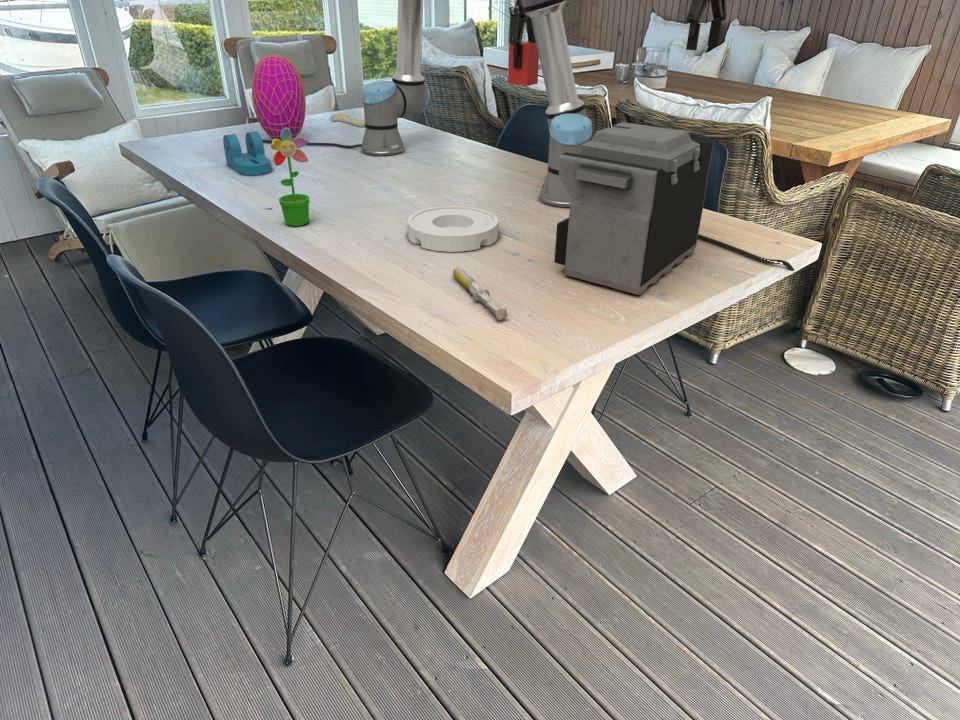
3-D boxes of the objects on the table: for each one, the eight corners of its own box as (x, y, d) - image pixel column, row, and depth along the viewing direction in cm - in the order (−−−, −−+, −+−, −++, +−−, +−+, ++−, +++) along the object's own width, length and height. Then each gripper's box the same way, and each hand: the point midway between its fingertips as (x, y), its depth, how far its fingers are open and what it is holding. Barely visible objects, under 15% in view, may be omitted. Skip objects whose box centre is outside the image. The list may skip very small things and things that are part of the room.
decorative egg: (293, 132, 276) (283, 50, 261) (319, 140, 264) (310, 56, 249) (249, 139, 265) (236, 54, 250) (273, 148, 253) (261, 60, 238)
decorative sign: (321, 115, 300) (341, 112, 306) (322, 117, 301) (341, 114, 307) (354, 125, 284) (374, 122, 289) (354, 127, 284) (374, 124, 290)
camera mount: (227, 164, 233) (221, 132, 227) (257, 160, 238) (252, 129, 233) (244, 176, 220) (239, 143, 215) (276, 172, 225) (271, 139, 220)
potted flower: (284, 229, 179) (270, 130, 166) (277, 220, 185) (263, 124, 172) (319, 224, 183) (308, 127, 170) (311, 215, 188) (300, 121, 176)
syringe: (449, 274, 155) (449, 263, 153) (465, 272, 156) (464, 260, 154) (490, 323, 135) (491, 310, 133) (508, 319, 136) (508, 307, 134)
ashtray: (413, 219, 187) (412, 204, 185) (498, 221, 186) (498, 206, 184) (402, 250, 167) (401, 235, 165) (497, 252, 166) (498, 237, 164)
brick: (518, 81, 222) (519, 41, 216) (537, 83, 218) (539, 43, 212) (507, 83, 218) (508, 42, 212) (527, 85, 214) (529, 44, 208)
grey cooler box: (618, 231, 180) (632, 112, 165) (700, 250, 169) (723, 124, 154) (546, 276, 154) (555, 139, 139) (637, 301, 143) (657, 156, 128)
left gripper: (535, -18, 212) (531, 63, 224) (497, -17, 200) (495, 69, 211) (555, -18, 208) (550, 65, 220) (518, -16, 195) (514, 71, 207)
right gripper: (722, -41, 191) (708, 43, 202) (681, -41, 174) (669, 50, 185) (748, -40, 187) (733, 45, 197) (709, -41, 170) (695, 52, 181)
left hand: (523, 67), depth 215 cm, fingers closed on brick, 6 cm apart
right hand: (702, 48), depth 191 cm, fingers open, 13 cm apart
